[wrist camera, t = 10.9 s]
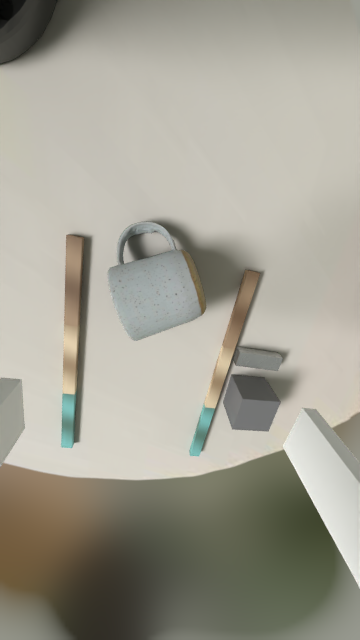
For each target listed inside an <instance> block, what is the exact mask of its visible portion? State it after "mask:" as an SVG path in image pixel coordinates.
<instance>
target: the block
mask: <svg viewBox="0 0 360 640" xmlns="http://www.w3.org/2000/svg"><path fill="white" fill-rule="evenodd" d="M223 404H224V407H225V409H226V412H227V415H228V418H229V421H230V424H231V427H232V429H235V430H253V431H269V429H270V426H271V424H272V421H273V419H274V417H275V414H276V412H277V409H278V407H279V405H280V400H279V399H278V397H277V396H276V394H275V393H274V391H273V390H272V388H271V387H270V385H269V384H268V382H267V381H266V379H265V378H264V377H253V376H242V375H231V377H230V381H229V384H228V387H227V391H226V394H225V397H224V401H223Z"/></svg>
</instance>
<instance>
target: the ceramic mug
mask: <svg viewBox="0 0 360 640" xmlns="http://www.w3.org/2000/svg"><path fill="white" fill-rule="evenodd" d="M154 231H156V232H159V233H160V234H162V235H163V236H165V238H166V239H167V241H168V242H169V244H170V246H171V249H172V251H169V252H165V253H162V254H159V255H155V256H152V257H149V258H145V259H141V260H137V261H133V262H129V263H126V264H124V261H123V250H124V246H125V243H126V241H127V239H128V238H130V237H131V236H132V235H136V234H141V233H148V232H149V233H153V232H154ZM117 262H118V265H117V266H114V267H111V268H109V270H108V274H107V275H108V285H109V290H110V293H111V297H112V301H113V304H114V307H115V310H116V312H117V315H118V317H119V320H120V322H121V324H122V326H123V328H124V330H125V331H126V333H127V335H128V336H129V337H130V338H131V339H132V340H134V341H137V340H140V339H143V338H146V337H148V336H151V335H154V334H156V333H159V332H162V331H165V330H167V329H170V328H173V327H175V326H178V325H181V324H184V323H187V322H189V321H192V320H194V319H196V318H198V317H199V316H201V315H202V314H204V312H205V310H206V301H205V296H204V292H203V287H202V284H201V281H200V278H199V275H198V272H197V269H196V266H195V264H194V262H193V259H192V257H191V256H190V254H189V253H188V252H186V251H184V250H177V249H176V247H175V243H174V240H173V239H172V237H171V235H170V234H169V232H168V231H167V230H166V229H165V228H164V227H162V226H161V225H159V224H157V223H154V222H147V221H146V222H139V223H135V224H133V225H130V226H129V227H127V228H126V229H125V230H124V231H123V233H122V234H121V236H120V238H119V241H118V244H117Z"/></svg>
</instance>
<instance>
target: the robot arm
mask: <svg viewBox="0 0 360 640" xmlns="http://www.w3.org/2000/svg"><path fill="white" fill-rule="evenodd" d="M56 1H57V0H0V63H4V62H7V61H10V60H12V59H14V58H16V57H18V56H20V55H21V54H23V53H24V52H25V51H27V50H28V49H29V48H30V47H31V46H32V45H33V44H34V43H35V42H36V41H37V40H38V39H39V37H40V36H41V34H42V33H43V32H44V30H45V28H46V26H47V25H48V22H49V20H50V18H51V16H52V13H53V11H54V8H55V4H56ZM24 428H25V424H24V409H23V393H22V380H20V379H10V378H1V379H0V467H1V465H2V464H3V462H4V460H5V459H6V457H7V456H8V454H9V452H10V451H11V449H12V448H13V446H14V444H15V443H16V441H17V440H18V438H19V436H20V435H21V433H22V432H23V430H24ZM283 448H284V449H285V451H286V453H287V455H288V457H289V459H290V460H291V462H292V464H293V466H294V468H295V470H296V471H297V473H298V475H299V477H300V479H301V481H302V483H303V484H304V486H305V488H306V490H307V492H308V494H309V495H310V497H311V499H312V501H313V503H314V505H315V506H316V508H317V510H318V512H319V514H320V515H321V517H322V519H323V521H324V523H325V525H326V527H327V529H328V530H329V532H330V534H331V536H332V538H333V539H334V541H335V543H336V545H337V547H338V549H339V550H340V552H341V554H342V556H343V558H344V560H345V562H346V563H347V565H348V567H349V569H350V571H351V573H352V574H353V576H354V578H355V580H356V582H357V584H358V585H359V587H360V462H359V461H358V460H357V459H356V458H355V456H354V455H353V454H352V453H351V451H350V450H349V449H348V448H347V447H346V445H345V444H344V443H343V442H342V440H341V439H340V438H339V437H338V436H337V434H336V433H335V432H334V431H333V429H332V428H331V427H330V426H329V425H328V423H327V422H326V421H325V420H324V418H323V417H322V416H321V415H320V414H319V412H318V411H317V410H316V409H308V408H302V410H301V412H300V414H299V416H298V418H297V420H296V422H295V424H294V426H293V428H292V430H291V432H290V434H289V436H288V438H287V440H286V442H285V444H284V445H283Z"/></svg>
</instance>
